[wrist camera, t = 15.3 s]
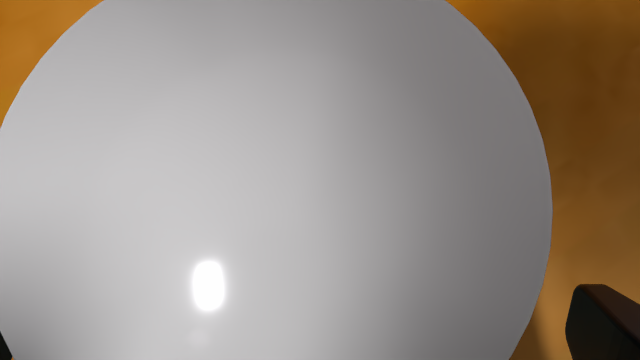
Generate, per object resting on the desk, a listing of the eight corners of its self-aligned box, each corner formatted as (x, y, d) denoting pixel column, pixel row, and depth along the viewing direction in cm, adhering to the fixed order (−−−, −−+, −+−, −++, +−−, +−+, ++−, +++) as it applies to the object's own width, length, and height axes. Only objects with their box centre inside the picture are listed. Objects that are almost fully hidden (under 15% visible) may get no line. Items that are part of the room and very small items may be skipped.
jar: (377, 426, 17) (505, 584, 5) (193, 376, 18) (-125, 395, 5) (415, 242, 19) (583, 1, 6) (247, 200, 19) (103, -95, 7)
